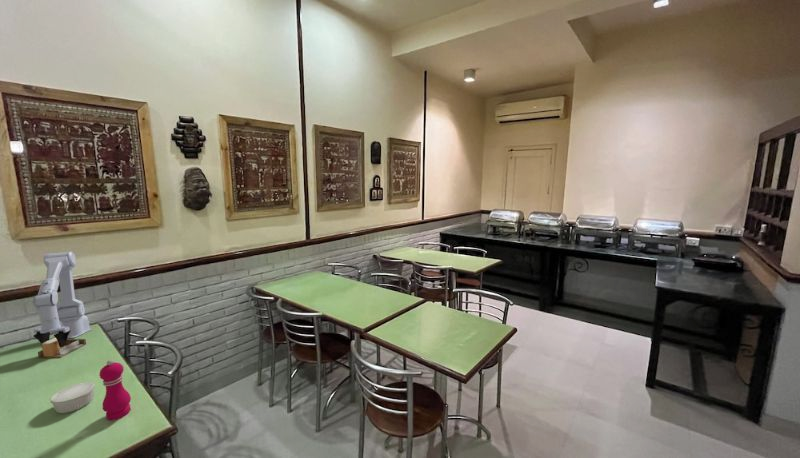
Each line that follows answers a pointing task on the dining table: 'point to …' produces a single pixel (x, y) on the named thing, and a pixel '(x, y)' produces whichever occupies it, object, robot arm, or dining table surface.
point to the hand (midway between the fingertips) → (54, 346)
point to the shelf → (66, 348)
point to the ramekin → (73, 397)
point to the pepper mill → (114, 391)
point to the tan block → (51, 347)
